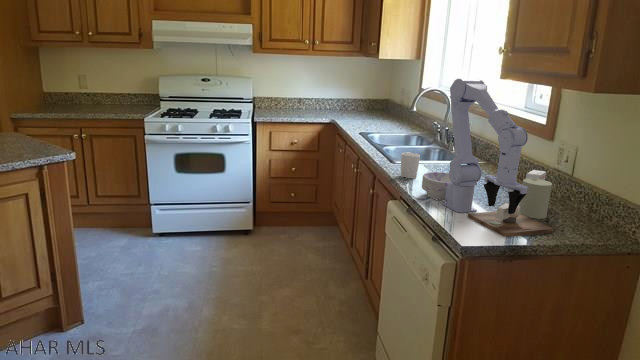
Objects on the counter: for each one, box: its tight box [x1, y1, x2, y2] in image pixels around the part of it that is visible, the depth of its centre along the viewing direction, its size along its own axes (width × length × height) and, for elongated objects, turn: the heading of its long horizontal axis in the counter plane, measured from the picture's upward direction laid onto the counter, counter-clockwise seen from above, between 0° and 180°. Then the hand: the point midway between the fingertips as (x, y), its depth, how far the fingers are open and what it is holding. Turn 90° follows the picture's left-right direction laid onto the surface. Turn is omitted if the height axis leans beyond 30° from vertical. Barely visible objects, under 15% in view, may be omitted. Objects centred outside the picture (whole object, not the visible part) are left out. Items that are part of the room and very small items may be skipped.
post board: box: [467, 210, 554, 238], centre depth 150 cm, size 18×18×3 cm
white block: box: [496, 202, 520, 220], centre depth 148 cm, size 10×5×4 cm, turn 132°
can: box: [518, 178, 553, 220], centre depth 161 cm, size 9×9×12 cm
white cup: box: [400, 151, 421, 179], centre depth 203 cm, size 8×8×10 cm
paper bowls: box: [421, 171, 451, 202], centre depth 176 cm, size 15×15×8 cm
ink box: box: [525, 169, 547, 181], centre depth 174 cm, size 9×5×12 cm, turn 141°
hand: (501, 209), depth 147 cm, fingers open, 7 cm apart
